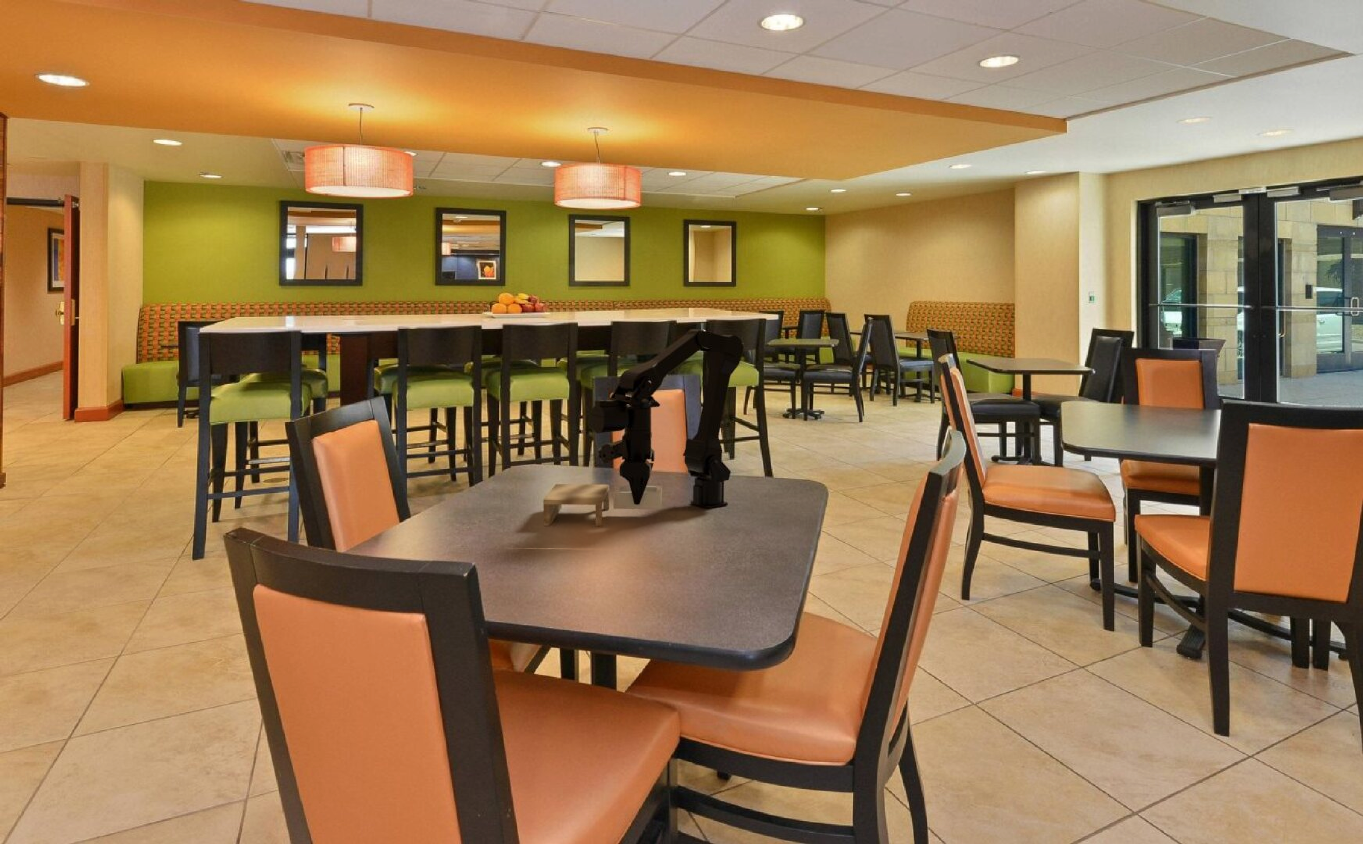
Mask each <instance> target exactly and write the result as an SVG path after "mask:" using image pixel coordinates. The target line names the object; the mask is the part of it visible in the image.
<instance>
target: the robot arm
mask: <svg viewBox="0 0 1363 844" xmlns="http://www.w3.org/2000/svg"><path fill="white" fill-rule="evenodd" d="M744 347H745V346H744V343H743V341H742V339H741V338H740V337H739V336H738V335H732V334H729V335H728V334H716V333H714V332H709V331H707V330H705V329H695V328H692V329H689V330H688V331H686V332H685V333H684V335H683V336H681V337H680V338H679V339H677V340H676V341H674V342H673V343H672V344H671V345H669V346H668V347H667V348H666V349H663V351H661V352H660V353H658V354H657V355H656V356H654V357H653V358H652V359H651V360H648V361H646V362H643V363H641V364H640V363H639V364H636V365H634V366H632V367H631V368H628V369H627V370H625V371H623V372H622V374H620V376H619V378H620V379H619V382H618V384H617V385H616V387H615V389H614V391H612V392H613V393H612V394H611V395H610V397H609V399H605V400H604V399H596V400H595V401H594V406H593V407H592V409H591V411H590V415H589V423H590V424H589V425H590V427H591V429H592V431H593V432H594V433H595V434H604V433H605V434H606V433H612V432H613V433H614V432H622V431H624V433H623V435H622V437H621V439H619V440H617V441H613V442H607V443H605V444H602V445H601V446H600V447H599V448H598V449H597V450H596V451H597V454H598V458H599V459H600V462H601V464H602V465H605V464H608V463H609V462H610V461H611V462H612V461H614V460H616V459H620V458H621V460H623V461H622V462H621V463H620V465H619V476H620V477H622V478H624V479H625V480H626V481H627V482H628V484H629V486H630V488H631V492H632V497H633V501H634V504H635V505H639V504H640V501H641V499H642V496H643V493H644V491H645V488H646V486H648V482H649V480H650V478H651V474H652V473H651V472H652V470H653V468H654V465H655V464H654V462H655V458H656V457H655V454H656V453H655V451H656V450H654V449H653V448H652V437H653V432H652V408H659V407H660V406H661V404H660V403H659V401H657V400H656V399H655V398H654V396H653V395H654V394H655V393H656V392H657V391H658V390H659V388H661V386H662V384H663V381H664V379H665V378H666V377H667V376H668V375H669V374H670V373H671V372H673V371H674V370H675V369H677V368H678V367H679V366H681V365H682V364H683V363H684V362H686V361H687V360H688V359H689V358H691V357H693V356H694V355H695V354H696V353H697V352H699V351H701V352H704V353H705V362H706V365H707V369H708V376H707V383H706V387H705V391H704V397H703V402H702V408H701V413H700V418H699V424H698V428H697V432H696V434H695V435H694V436H693V438H692V439H691V438H687V439H686V441H685V449H684V452H683V454H682V456H683V457H684V461H683V463H684V465H685V466H686V467H687V469H688V472H689V475H690V477H691V478H692V477H694V485H693V486H692V491H693V492H692V500H690V504H693V505H695V506H698V507H701V508H703V509H711V508H717V507H724V506H728V505H729V502H727V501H725V481H729V480H730V477H731V473H732V472H731V470H730V468H728V466H727V465H726V464H725V463H724V462H723V449H722V445H721V441H720V431H721V426H722V420H723V416H724V410H725V405H726V401H727V395H728V390H729V384H730V380H731V376H732V374H733V373H734V372H735V371H736V369H737V368H738V366H739V365H740V363H741V360H742V357H743V354H744ZM648 460H651V462H649V461H648Z"/></svg>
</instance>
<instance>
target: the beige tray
mask: <svg viewBox="0 0 1363 844" xmlns="http://www.w3.org/2000/svg"><path fill="white" fill-rule="evenodd" d="M612 492H613V496H612V499H613V503H612V504H613V506H612V507H613V509H614V510H616V509H617V510H621V509H622V510H661V509H662V504H663V503H662V502H663V485H647V486H646V488H645V491H644V493H643V496H642V499H641V501H640V504H639V505H635V504H634V501H633V497H632V492H631V488H630V485H616V486H615V487H614V490H613V491H612Z"/></svg>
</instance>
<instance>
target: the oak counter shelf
mask: <svg viewBox="0 0 1363 844" xmlns="http://www.w3.org/2000/svg"><path fill="white" fill-rule="evenodd" d="M542 503H543V505H542V506H543V526H551V524H552V523H553V521H554V520H555V519H556V517H557V516H558V514H559V512H561V509H562V507H563V506H562V505H567V506H568V505H573V506H574V505H577V506H579V505H580V506H583V505H584V506H585V505H586V506H587V505H588V506H595V527H602V526H603V510H604V511H608V510H610V484H590V483H589V484H587V483H585V484H581V483H580V484H579V483H578V484H577V483H575V484H574V483H573V484H572V483H556V484H554V486H553V487H552V489H550V490H549V492H548V493H547V494H546V495H545V497H544V498H543V500H542Z"/></svg>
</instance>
